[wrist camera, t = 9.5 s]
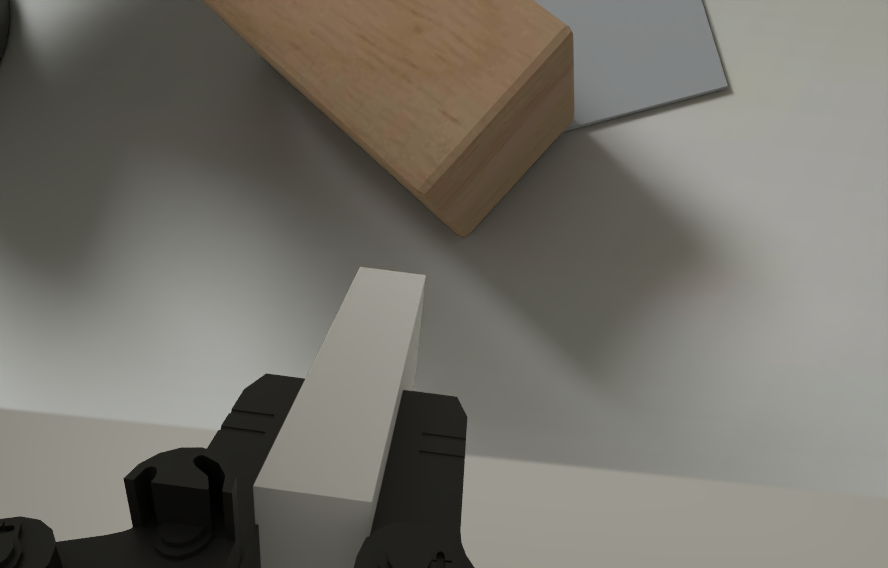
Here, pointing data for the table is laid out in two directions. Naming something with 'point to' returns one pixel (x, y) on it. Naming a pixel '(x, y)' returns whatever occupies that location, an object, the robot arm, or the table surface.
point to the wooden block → (426, 86)
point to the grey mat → (637, 55)
